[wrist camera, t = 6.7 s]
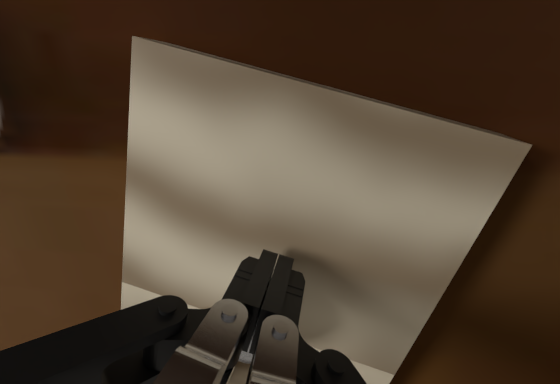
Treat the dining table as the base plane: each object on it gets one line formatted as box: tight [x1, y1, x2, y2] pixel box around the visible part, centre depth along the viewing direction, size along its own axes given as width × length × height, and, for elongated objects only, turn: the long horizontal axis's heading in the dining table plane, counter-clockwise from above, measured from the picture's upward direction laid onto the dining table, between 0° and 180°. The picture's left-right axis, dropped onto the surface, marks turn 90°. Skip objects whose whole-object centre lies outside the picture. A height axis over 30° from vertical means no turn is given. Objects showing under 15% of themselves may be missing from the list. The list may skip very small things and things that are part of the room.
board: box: [121, 36, 532, 384], centre depth 17 cm, size 22×16×2 cm
